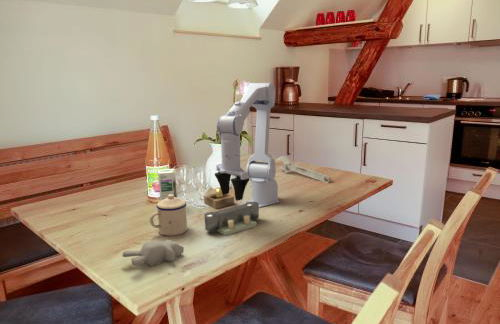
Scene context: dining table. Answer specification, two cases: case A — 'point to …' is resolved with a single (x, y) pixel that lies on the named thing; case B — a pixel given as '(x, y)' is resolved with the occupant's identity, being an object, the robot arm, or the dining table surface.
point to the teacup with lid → (171, 216)
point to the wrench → (301, 170)
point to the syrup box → (167, 183)
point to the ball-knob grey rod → (231, 215)
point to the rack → (237, 226)
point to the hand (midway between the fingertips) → (232, 196)
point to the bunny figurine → (155, 253)
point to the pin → (219, 193)
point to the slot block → (218, 201)
